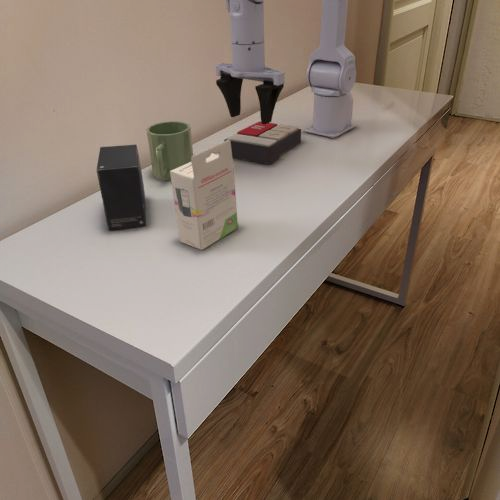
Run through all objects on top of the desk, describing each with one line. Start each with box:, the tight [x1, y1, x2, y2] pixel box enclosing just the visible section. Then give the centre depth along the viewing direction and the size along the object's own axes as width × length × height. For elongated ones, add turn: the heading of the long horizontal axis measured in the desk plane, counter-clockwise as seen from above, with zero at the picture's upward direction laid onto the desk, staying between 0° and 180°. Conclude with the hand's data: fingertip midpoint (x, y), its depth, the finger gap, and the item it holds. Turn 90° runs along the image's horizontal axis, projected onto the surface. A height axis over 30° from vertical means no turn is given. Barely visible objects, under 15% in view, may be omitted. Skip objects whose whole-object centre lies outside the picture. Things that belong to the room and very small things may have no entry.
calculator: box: [223, 120, 302, 165], centre depth 108 cm, size 11×4×15 cm
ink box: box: [170, 139, 239, 251], centre depth 74 cm, size 9×5×15 cm, turn 141°
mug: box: [146, 120, 194, 181], centre depth 96 cm, size 11×8×9 cm
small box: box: [96, 144, 147, 231], centre depth 82 cm, size 11×6×10 cm, turn 12°
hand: (250, 119), depth 94 cm, fingers open, 7 cm apart
